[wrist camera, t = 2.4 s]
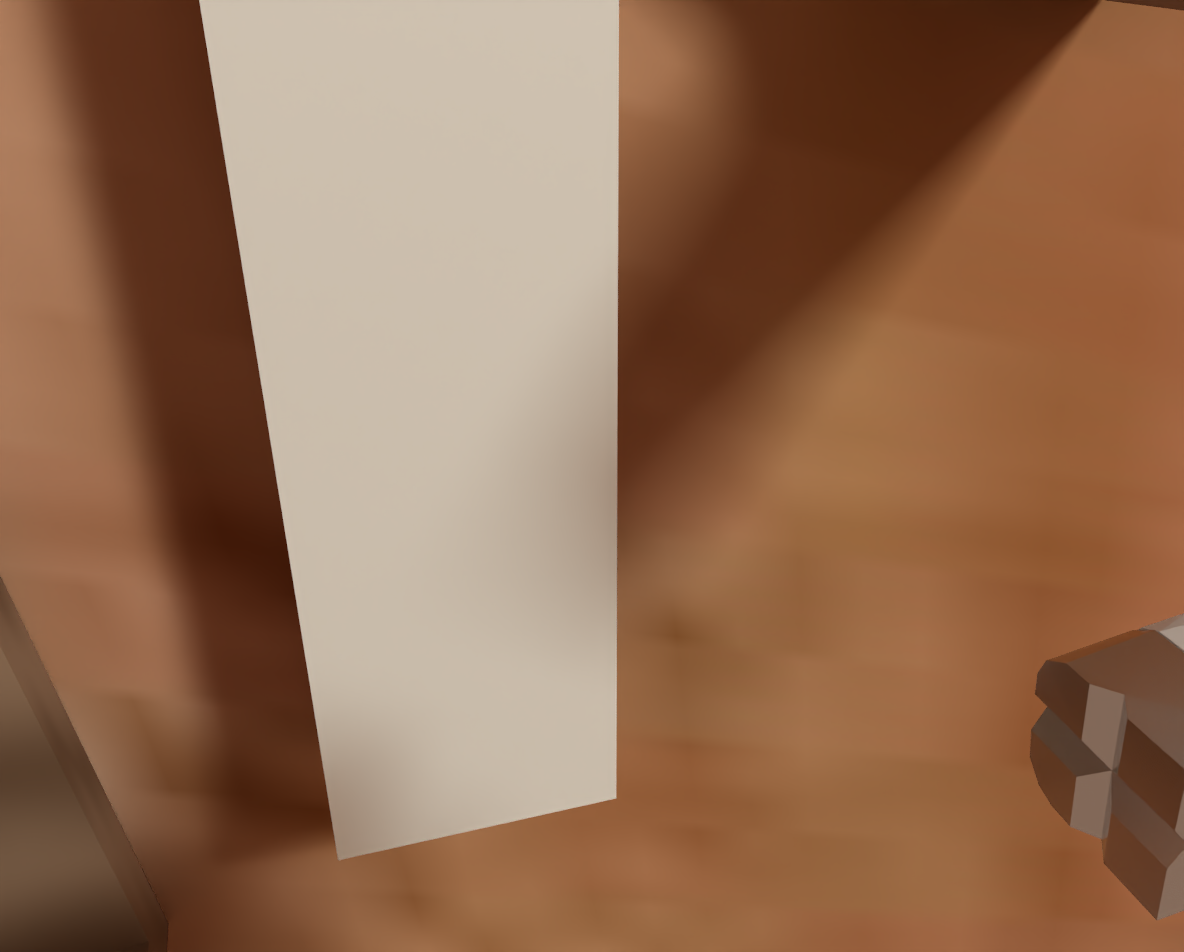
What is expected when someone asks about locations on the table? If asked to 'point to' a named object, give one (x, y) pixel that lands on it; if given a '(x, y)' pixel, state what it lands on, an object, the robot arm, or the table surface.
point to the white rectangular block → (438, 387)
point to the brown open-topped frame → (59, 825)
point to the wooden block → (1157, 3)
